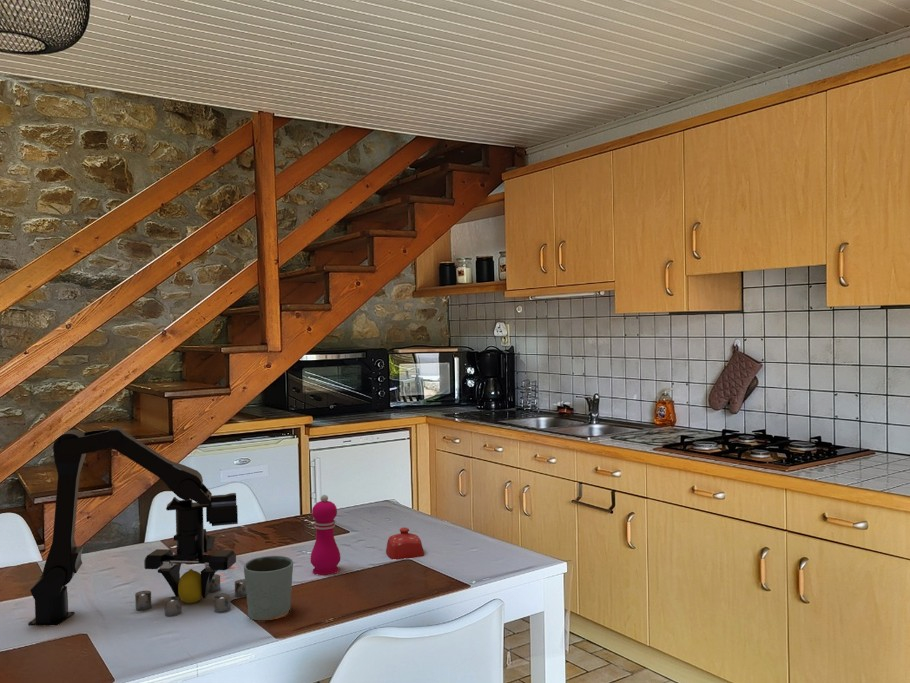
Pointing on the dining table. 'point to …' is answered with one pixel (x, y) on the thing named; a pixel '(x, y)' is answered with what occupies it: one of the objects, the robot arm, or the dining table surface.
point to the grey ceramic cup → (268, 586)
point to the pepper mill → (325, 538)
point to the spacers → (175, 601)
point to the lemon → (190, 587)
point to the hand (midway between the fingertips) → (191, 597)
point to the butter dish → (404, 545)
